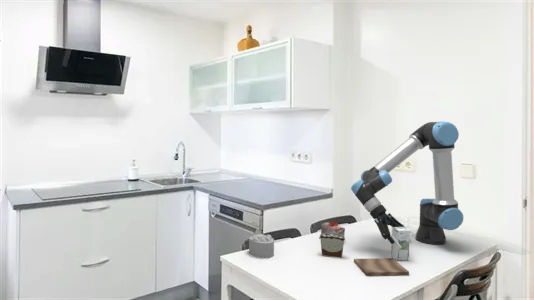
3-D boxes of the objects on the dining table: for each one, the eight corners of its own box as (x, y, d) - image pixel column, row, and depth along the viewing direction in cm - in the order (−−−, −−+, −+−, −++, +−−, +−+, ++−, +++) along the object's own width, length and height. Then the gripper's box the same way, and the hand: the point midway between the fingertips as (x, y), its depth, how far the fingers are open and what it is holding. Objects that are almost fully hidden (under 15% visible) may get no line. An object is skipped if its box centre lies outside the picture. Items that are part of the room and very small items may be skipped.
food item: (346, 242, 193) (347, 224, 192) (335, 244, 188) (336, 226, 188) (329, 236, 204) (329, 218, 204) (318, 238, 200) (318, 220, 199)
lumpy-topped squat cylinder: (264, 248, 181) (264, 231, 181) (279, 255, 170) (279, 237, 170) (246, 251, 175) (246, 234, 175) (260, 260, 164) (260, 241, 164)
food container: (346, 254, 173) (347, 233, 173) (345, 258, 168) (345, 237, 167) (321, 251, 177) (321, 231, 177) (318, 255, 172) (319, 234, 171)
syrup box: (402, 256, 172) (403, 226, 171) (409, 260, 166) (410, 229, 165) (390, 256, 171) (391, 226, 170) (397, 261, 165) (398, 230, 164)
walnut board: (392, 261, 165) (392, 258, 165) (408, 275, 149) (409, 271, 149) (353, 262, 163) (353, 258, 163) (366, 276, 147) (366, 272, 147)
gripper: (381, 209, 187) (409, 244, 177) (357, 217, 168) (388, 256, 159) (391, 200, 183) (420, 235, 174) (368, 207, 164) (400, 247, 155)
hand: (405, 245), depth 166 cm, fingers open, 13 cm apart
